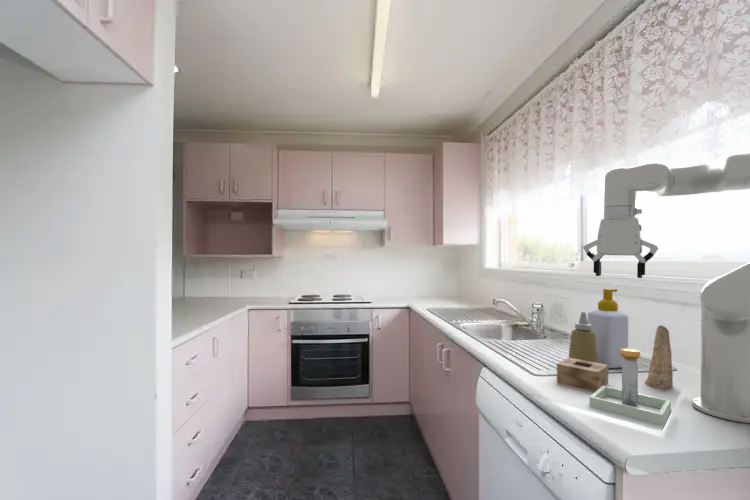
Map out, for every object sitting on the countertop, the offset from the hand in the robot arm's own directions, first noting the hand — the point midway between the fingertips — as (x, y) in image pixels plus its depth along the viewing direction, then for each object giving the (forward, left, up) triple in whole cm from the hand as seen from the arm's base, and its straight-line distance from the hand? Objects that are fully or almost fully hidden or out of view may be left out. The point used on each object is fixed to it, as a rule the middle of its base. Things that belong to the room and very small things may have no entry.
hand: (618, 276), depth 103 cm
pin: (-6, +16, -30) cm, 34 cm away
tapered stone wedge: (-8, -9, -31) cm, 33 cm away
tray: (-6, +16, -30) cm, 35 cm away
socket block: (+7, +5, -30) cm, 32 cm away
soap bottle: (+8, -25, -31) cm, 40 cm away
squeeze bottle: (+12, -13, -31) cm, 35 cm away
